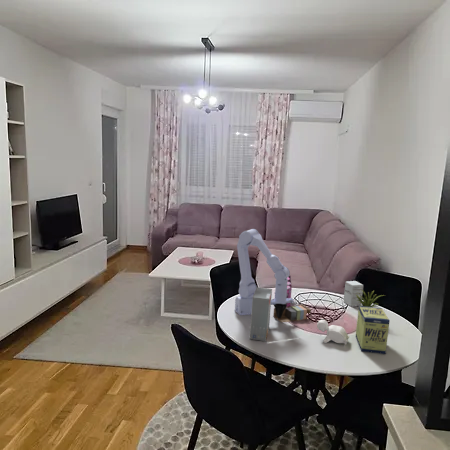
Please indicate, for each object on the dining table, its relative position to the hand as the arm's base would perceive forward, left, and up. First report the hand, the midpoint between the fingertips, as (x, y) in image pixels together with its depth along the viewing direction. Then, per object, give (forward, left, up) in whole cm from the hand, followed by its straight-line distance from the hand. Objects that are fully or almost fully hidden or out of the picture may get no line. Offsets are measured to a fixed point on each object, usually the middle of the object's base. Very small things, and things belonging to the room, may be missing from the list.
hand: (278, 317), depth 207 cm
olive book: (+10, 0, -1) cm, 10 cm away
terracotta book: (+14, 0, -1) cm, 14 cm away
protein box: (+27, -35, -2) cm, 45 cm away
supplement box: (+54, +10, -2) cm, 55 cm away
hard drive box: (-16, -10, -2) cm, 19 cm away
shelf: (+8, +1, -2) cm, 8 cm away
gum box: (+14, +21, -2) cm, 25 cm away
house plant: (+46, -12, -2) cm, 48 cm away
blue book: (+12, 0, -1) cm, 12 cm away
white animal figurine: (+13, -26, -2) cm, 29 cm away
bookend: (+7, 0, -1) cm, 7 cm away
